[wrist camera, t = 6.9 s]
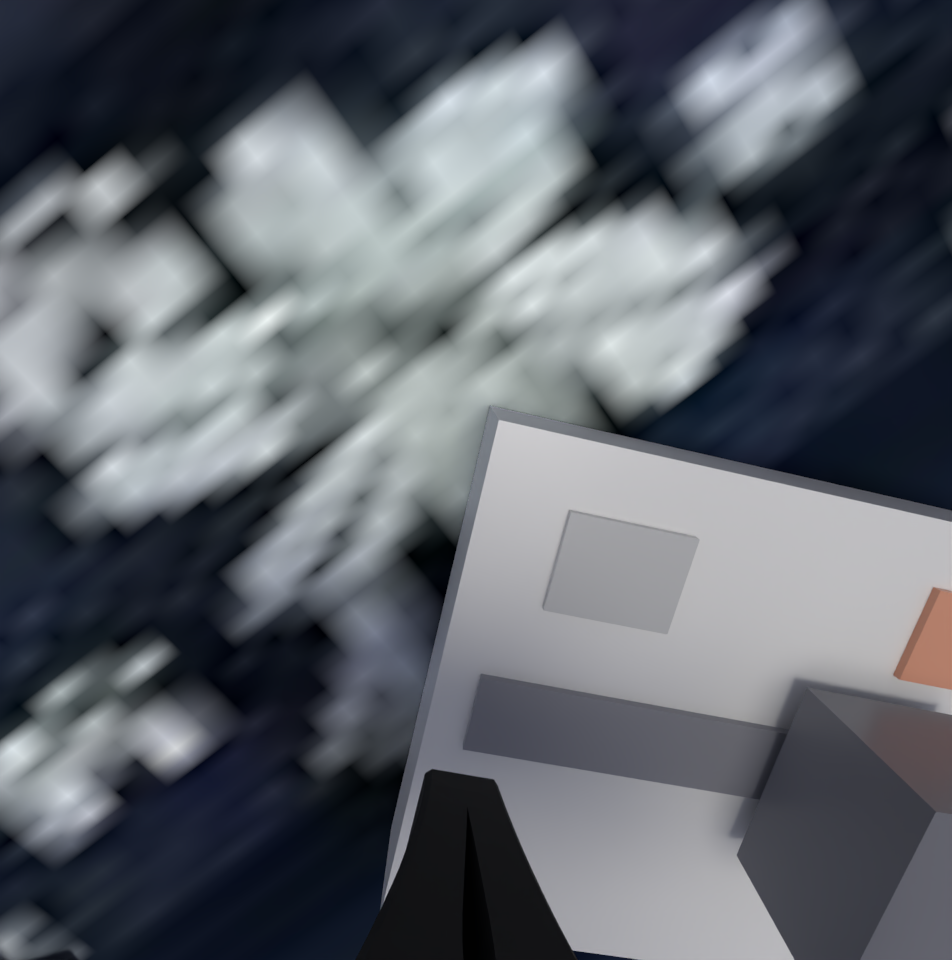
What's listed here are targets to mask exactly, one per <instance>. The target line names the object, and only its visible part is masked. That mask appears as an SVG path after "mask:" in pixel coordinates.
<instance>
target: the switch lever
mask: <svg viewBox="0 0 952 960" xmlns="http://www.w3.org/2000/svg"><path fill="white" fill-rule="evenodd" d="M737 857H738V859H739V861H740V862H741V864H742V866H743V868H744V870H745V871H746V873H747V875H748V877H749V879H750V880H751V882H752V884H753V886H754V888H755V889H756V891H757V893H758V895H759V897H760V898H761V900H762V902H763V904H764V906H765V907H766V909H767V911H768V913H769V915H770V916H771V918H772V920H773V922H774V924H775V925H776V927H777V929H778V931H779V933H780V934H781V936H782V938H783V940H784V942H785V943H786V945H787V947H788V949H789V951H790V953H791V954H792V956H793V958H794V960H952V715H950V714H945V713H939V712H934V711H929V710H923V709H918V708H913V707H908V706H902V705H897V704H892V703H887V702H881V701H876V700H871V699H866V698H860V697H855V696H850V695H845V694H839V693H834V692H829V691H824V690H818V689H813V688H808V687H807V688H806V690H805V693H804V695H803V698H802V700H801V702H800V705H799V707H798V710H797V712H796V714H795V717H794V719H793V722H792V724H791V726H790V729H789V731H788V733H787V736H786V738H785V741H784V743H783V745H782V748H781V750H780V753H779V755H778V757H777V760H776V762H775V764H774V767H773V769H772V772H771V774H770V776H769V779H768V781H767V784H766V786H765V788H764V791H763V793H762V795H761V798H760V800H759V803H758V805H757V807H756V810H755V812H754V815H753V817H752V819H751V822H750V824H749V827H748V829H747V831H746V834H745V836H744V838H743V841H742V843H741V846H740V848H739V850H738V853H737Z"/></svg>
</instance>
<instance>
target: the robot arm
mask: <svg viewBox="0 0 952 960" xmlns="http://www.w3.org/2000/svg"><path fill="white" fill-rule="evenodd" d="M356 960H577V958H576V956H575V954H574V952H573V951H572V949H571V947H570V945H569V943H568V941H567V939H566V937H565V936H564V934H563V932H562V930H561V928H560V926H559V924H558V922H557V920H556V918H555V916H554V914H553V912H552V910H551V908H550V906H549V904H548V902H547V900H546V898H545V896H544V894H543V892H542V890H541V888H540V886H539V883H538V881H537V879H536V877H535V875H534V873H533V871H532V868H531V866H530V864H529V862H528V860H527V857H526V855H525V853H524V851H523V848H522V846H521V844H520V841H519V839H518V836H517V834H516V832H515V829H514V827H513V824H512V822H511V819H510V817H509V814H508V812H507V809H506V807H505V804H504V801H503V799H502V796H501V793H500V790H499V788H498V785H497V784H496V782H495V780H494V779H489V778H483V777H477V776H471V775H465V774H459V773H453V772H448V771H442V770H436V769H431V770H429V771H428V772H426V773H425V775H424V779H423V783H422V787H421V791H420V795H419V799H418V803H417V807H416V811H415V815H414V819H413V823H412V827H411V831H410V835H409V839H408V843H407V847H406V851H405V853H404V856H403V859H402V861H401V864H400V867H399V869H398V871H397V874H396V876H395V878H394V881H393V883H392V885H391V887H390V890H389V892H388V894H387V896H386V898H385V901H384V903H383V905H382V907H381V910H380V912H379V914H378V916H377V918H376V920H375V922H374V924H373V926H372V928H371V930H370V932H369V935H368V937H367V939H366V940H365V942H364V944H363V946H362V948H361V950H360V952H359V954H358V956H357V958H356Z"/></svg>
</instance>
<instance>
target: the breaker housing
mask: <svg viewBox="0 0 952 960" xmlns="http://www.w3.org/2000/svg"><path fill="white" fill-rule="evenodd" d="M807 687H808V688H813V689H818V690H824V691H829V692H834V693H839V694H845V695H850V696H855V697H860V698H866V699H871V700H876V701H881V702H887V703H892V704H897V705H902V706H908V707H913V708H918V709H923V710H929V711H934V712H939V713H945V714H950V715H952V511H951V510H947V509H943V508H938V507H934V506H929V505H925V504H921V503H916V502H912V501H907V500H903V499H899V498H894V497H890V496H885V495H881V494H877V493H872V492H868V491H864V490H859V489H855V488H850V487H846V486H842V485H837V484H833V483H828V482H824V481H820V480H815V479H811V478H806V477H802V476H798V475H793V474H789V473H784V472H780V471H776V470H771V469H767V468H762V467H758V466H754V465H749V464H745V463H740V462H736V461H732V460H727V459H723V458H718V457H714V456H710V455H705V454H701V453H697V452H692V451H688V450H683V449H679V448H675V447H670V446H666V445H661V444H657V443H653V442H648V441H644V440H639V439H635V438H631V437H626V436H622V435H617V434H613V433H609V432H604V431H600V430H595V429H591V428H587V427H582V426H578V425H573V424H569V423H565V422H560V421H556V420H552V419H547V418H543V417H538V416H534V415H530V414H525V413H521V412H516V411H512V410H508V409H503V408H499V407H494V406H490V408H489V412H488V416H487V421H486V425H485V429H484V434H483V438H482V442H481V446H480V451H479V455H478V459H477V463H476V468H475V472H474V476H473V481H472V485H471V489H470V493H469V498H468V502H467V506H466V510H465V515H464V519H463V523H462V528H461V532H460V536H459V540H458V545H457V549H456V553H455V557H454V562H453V566H452V570H451V574H450V579H449V583H448V587H447V592H446V596H445V600H444V604H443V609H442V613H441V617H440V621H439V626H438V630H437V634H436V639H435V643H434V647H433V651H432V656H431V660H430V664H429V668H428V673H427V677H426V681H425V686H424V690H423V694H422V698H421V703H420V707H419V711H418V715H417V720H416V724H415V728H414V732H413V737H412V741H411V745H410V750H409V754H408V758H407V762H406V767H405V771H404V775H403V779H402V784H401V788H400V792H399V797H398V801H397V805H396V809H395V814H394V818H393V822H392V826H391V833H390V840H389V848H388V855H387V863H386V870H385V878H384V885H383V892H382V900H381V907H382V905H383V903H384V901H385V898H386V896H387V894H388V892H389V890H390V887H391V885H392V883H393V881H394V878H395V876H396V874H397V871H398V869H399V867H400V864H401V861H402V859H403V856H404V853H405V851H406V847H407V843H408V839H409V835H410V831H411V827H412V823H413V819H414V815H415V811H416V807H417V803H418V799H419V795H420V791H421V787H422V783H423V779H424V775H425V773H426V772H428V771H429V770H431V769H436V770H442V771H448V772H453V773H459V774H465V775H471V776H477V777H483V778H489V779H494V780H495V782H496V784H497V785H498V788H499V790H500V793H501V796H502V799H503V801H504V804H505V807H506V809H507V812H508V814H509V817H510V819H511V822H512V824H513V827H514V829H515V832H516V834H517V836H518V839H519V841H520V844H521V846H522V848H523V851H524V853H525V855H526V857H527V860H528V862H529V864H530V866H531V868H532V871H533V873H534V875H535V877H536V879H537V881H538V883H539V886H540V888H541V890H542V892H543V894H544V896H545V898H546V900H547V902H548V904H549V906H550V908H551V910H552V912H553V914H554V916H555V918H556V920H557V922H558V924H559V926H560V928H561V930H562V932H563V934H564V936H565V937H566V939H567V941H568V943H569V945H570V947H571V949H572V950H574V951H581V952H588V953H596V954H603V955H610V956H618V957H625V958H632V959H639V960H794V958H793V956H792V954H791V953H790V951H789V949H788V947H787V945H786V943H785V942H784V940H783V938H782V936H781V934H780V933H779V931H778V929H777V927H776V925H775V924H774V922H773V920H772V918H771V916H770V915H769V913H768V911H767V909H766V907H765V906H764V904H763V902H762V900H761V898H760V897H759V895H758V893H757V891H756V889H755V888H754V886H753V884H752V882H751V880H750V879H749V877H748V875H747V873H746V871H745V870H744V868H743V866H742V864H741V862H740V861H739V859H738V857H737V853H738V850H739V848H740V846H741V843H742V841H743V838H744V836H745V834H746V831H747V829H748V827H749V824H750V822H751V819H752V817H753V815H754V812H755V810H756V807H757V805H758V803H759V800H760V798H761V795H762V793H763V791H764V788H765V786H766V784H767V781H768V779H769V776H770V774H771V772H772V769H773V767H774V764H775V762H776V760H777V757H778V755H779V753H780V750H781V748H782V745H783V743H784V741H785V738H786V736H787V733H788V731H789V729H790V726H791V724H792V722H793V719H794V717H795V714H796V712H797V710H798V707H799V705H800V702H801V700H802V698H803V695H804V693H805V690H806V688H807ZM381 907H380V910H381Z"/></svg>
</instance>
